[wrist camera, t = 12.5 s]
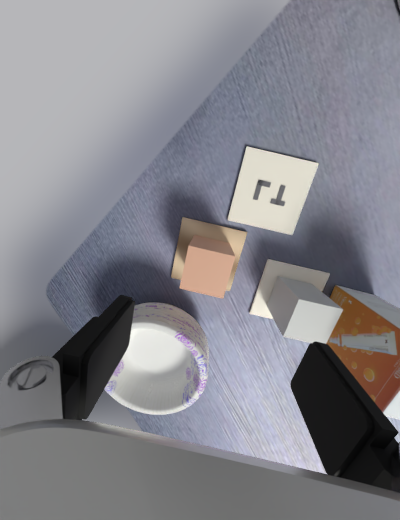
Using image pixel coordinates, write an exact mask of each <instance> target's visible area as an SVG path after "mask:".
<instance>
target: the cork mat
mask: <svg viewBox="0 0 400 520" xmlns="http://www.w3.org/2000/svg"><path fill="white" fill-rule="evenodd" d="M194 235H197V236H202V237H206V238H210V239H214V240H219V241H223V242H227V243H230V245H231V248H232V250H233V252H234V254H235V260H234V263H233V267H232V270H231V274H230V277H229V280H228V284H227V287H226V290H227V291H230V289H231V285H232V282H233V279H234V275H235V272H236V269H237V265H238V262H239V258H240V255H241V252H242V248H243V245H244V242H245V238H246V235H247V232H245V231H240V230H236V229H232V228H228V227H223V226H219V225H215V224H210V223H206V222H202V221H198V220H193V219H189V218H185V217H183V218H182V223H181V228H180V233H179V238H178V244H177V249H176V254H175V259H174V264H173V269H172V275H171V278H175V279H179V280H181V279H182V274H183V269H184V265H185V260H186V255H187V251H188V246H189V244H190V242H191V240H192V238H193V236H194Z"/></svg>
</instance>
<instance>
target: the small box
mask: <svg viewBox="0 0 400 520" xmlns="http://www.w3.org/2000/svg"><path fill="white" fill-rule="evenodd" d="M330 299H331V300H332V301H334V302H335V303H336V304H337V305H339V306H340V307H341V308H342V309H343V311H342V313H341V315H340V317H339V319H338V321H337V323H336V325H335V327H334V329H333V331H332V333H331V335H330V337H329V339H328V341H327V343H326V344H328V345H329V346H330V347H331V349H332V350H333V351H334V352H335V354H336V355H337V356H338V357H339V359H340V360H341V361H342V362H343V364H344V365H345V366H346V367H347V369H348V370H349V371H350V372H351V374H352V375H353V376H354V377H355V379H356V380H357V381H358V382H359V384H360V385H361V386H362V387H363V389H364V390H365V391H366V392H367V394H368V395H369V396H370V397H371V399H372V400H373V401H374V402H375V404H376V405H377V406H378V407H379V409H380V410H381V411H382V412H383V414H384V415H385V416H387V417H391V418H395V419H399V420H400V309H399V308H397V307H396V306H394V305H392V304H390V303H388V302H387V301H385V300H383V299H381V298H379V297H378V296H376V295H373V294H369V293H365V292H361V291H357V290H353V289H349V288H345V287H342V286H338V285H335V287H334V289H333V292H332V294H331V296H330Z"/></svg>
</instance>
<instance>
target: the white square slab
mask: <svg viewBox="0 0 400 520" xmlns="http://www.w3.org/2000/svg"><path fill="white" fill-rule="evenodd" d="M318 164H319V163H315V162H311V161H307V160H302V159H298V158H294V157H290V156H286V155H281V154H277V153H273V152H269V151H264V150H260V149H256V148H252V147H248V146H247V147H246V150H245V154H244V158H243V162H242V166H241V169H240V173H239V177H238V181H237V185H236V189H235V192H234V196H233V200H232V204H231V208H230V211H229V215H228V219H227V220H229V221H234V222H238V223H242V224H247V225H251V226H255V227H259V228H264V229H268V230H272V231H276V232H281V233H285V234H289V235H293V232H294V230H295V227H296V224H297V221H298V219H299V216H300V213H301V211H302V208H303V205H304V202H305V200H306V197H307V194H308V192H309V189H310V186H311V183H312V181H313V178H314V175H315V173H316V170H317V167H318Z"/></svg>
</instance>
